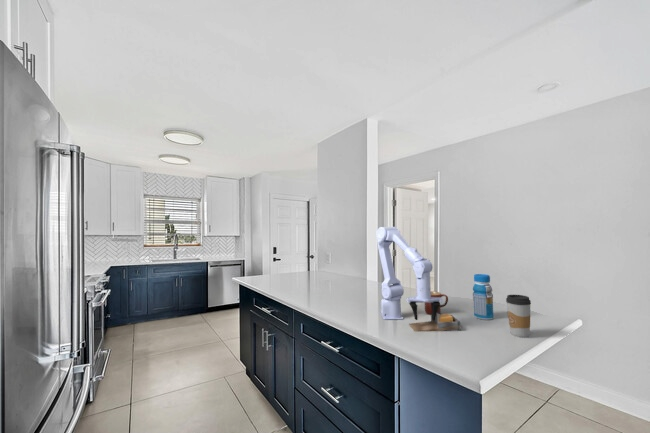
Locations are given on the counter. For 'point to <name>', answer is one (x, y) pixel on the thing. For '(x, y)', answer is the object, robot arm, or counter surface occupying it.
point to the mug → (437, 294)
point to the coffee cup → (519, 315)
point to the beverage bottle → (483, 297)
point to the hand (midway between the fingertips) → (424, 319)
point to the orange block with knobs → (443, 318)
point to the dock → (436, 325)
